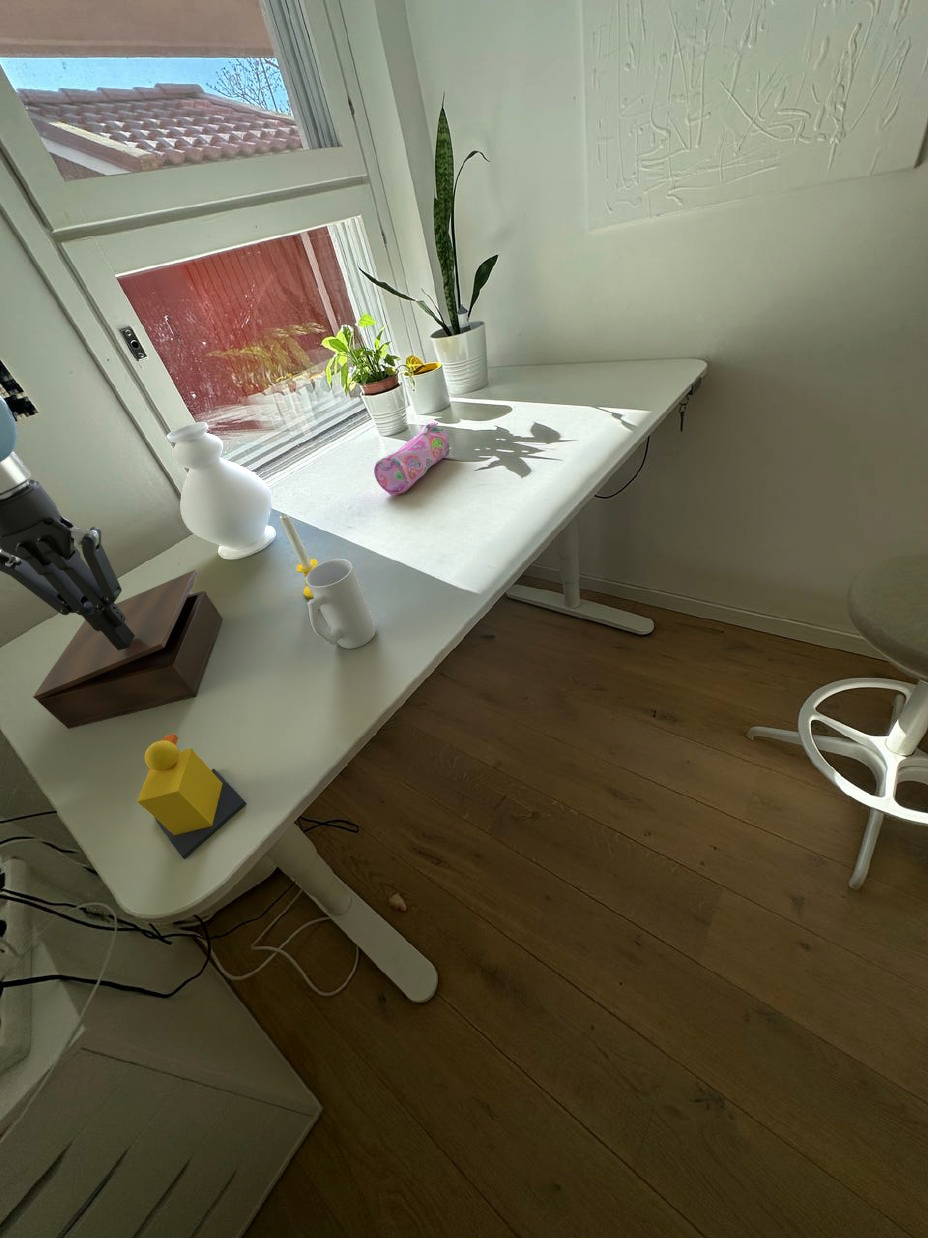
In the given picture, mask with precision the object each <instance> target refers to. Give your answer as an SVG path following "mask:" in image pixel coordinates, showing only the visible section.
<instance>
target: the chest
mask: <svg viewBox="0 0 928 1238" xmlns="http://www.w3.org/2000/svg"><path fill="white" fill-rule="evenodd" d="M223 620H224V619H223V616H222V615H221V614H220V612H219V611H218V609H217V607H216V606H215V604H214V603H213V601H212V600H211V598H210V597H209V595H208V593H207V592H206V590H201V591H197V592H193V593H189V594H188V597H187V599H186V601H185V603H184V605H183V607H182V610H181V612H180V614H179V616H178V618H177V621H176V623H175V625H174V627H173V629H172V632H171V634H170V636H169V638H168V640H167V642H166V645H165V647H164V648H162V649H160V650H157V651H155V652H153V653H150V654H148V655H145V656H143V657H141V658H138V659H136V660H133V661H131V662H129V663H126V664H124V665H121V666H119V667H116V668H114V669H112V670H109V671H107V672H104V673H102V674H100V675H97V676H95V677H92V678H90V679H88V680H85V681H83V682H80V683H78V684H75V685H73V686H71V687H68V688H66V689H63V690H61V691H59V692H56V693H54V694H51V695H49V696H47V697H44V698H42V699H39V700H37V702H38V703H39V704H40V705H41V706H42V707H43V708H44V709H46V711H48V712H49V714H51V715H52V716H53V717H54V718H55V719H56V720H58V721H59V722H60V723H61V724H62V725H63V726H64V727H65V728H66V729H72V728H77V727H81V726H84V725H89V724H93V723H97V722H100V721H104V720H107V719H113V718H116V717H119V716H124V715H128V714H131V713H137V712H139V711H143V710H147V709H151V708H155V707H159V706H163V705H166V704H170V703H174V702H178V701H182V700H187V699H190V698H194V697H195V698H196V697H197V695H198V692H199V689H200V686H201V683H202V681H203V677H204V675H205V672H206V669H207V666H208V664H209V661H210V658H211V655H212V652H213V649H214V646H215V644H216V640H217V637H218V635H219V632H220V629H221V626H222V623H223Z"/></svg>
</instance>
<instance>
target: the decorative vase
mask: <svg viewBox="0 0 928 1238" xmlns="http://www.w3.org/2000/svg"><path fill="white" fill-rule="evenodd" d="M208 429H209V424H208V423H207V422H206V421H198V422H193V423H189V424H186V425H183V426H181V427H177V428H176V429H173V430H172V431H169V433H168V434H167V435H166V439H167V441H168V442H170V443H175V444H174V447H173V449H172V451H171V458H172V460H173V462H174V463H175V464H176V465H178V466H179V467H182V468H185V469H188V471H187V475H186V477H185V479H184V482H183V485H182V489H181V495H180V503H179V504H180V505H179V507H180V509H179V512H180V516H181V518H182V521H183V523H184V525H185V526H186V527H187V530H189V531H190V532H191V533H192V534H193V535H196V536H197V537H198V538H200V539H203V540H204V541H208V542H211V543H213V544H215V545H219V547H218V548H217V552H218V553H217V554H218V555H219V557H221V558H222V559H225V560H240V559H243V558H247V557H250V556H252V555H255V554H257V553H259V552H260V551H262V550H264V549H266V548H267V547H269V545H271V544H272V543H273V541H274V540H275V539H276V536H277V531H276V530H275V527H273V526H272V525H268V523H269V520H270V516H271V514H272V513H271V512H272V508H273V496H272V493H271V490H270V488H269V487H268V485H267V483H266V482H265V481H264V480H263V479H262V478H261V477H259V476H258V475H257V474H256V473H254V472H253V471H251V470H249V469H247V468H246V467H244V466H242V465H240V464H237V463H235V462H232V461H230V460H228V459H225V458H223V457H221V456H222V454H223V451H224V443H223V441H222V440H221V438H219V437H218V436H217V435H215V434H211V433H208V432H207V431H208Z"/></svg>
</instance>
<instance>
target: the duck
mask: <svg viewBox="0 0 928 1238" xmlns="http://www.w3.org/2000/svg"><path fill="white" fill-rule="evenodd" d="M178 740H179V737H178V736H177V735H176V734H175V733H172V734H169V735H164V736H162V739H161V740H158V741H155V742H153V743H151V745H149V746H148V747H147V749H146V751H145V752H144V762H145V765H146V766H147V767H148V768H149V769H148V772H147V775H146V778H145V780H144V782H143V785H142V788H141V790H140V792H139V795H138V798H137V801H136V802H137V803H138V804H139V805H140V806H141V807H142V808H143V809H145V810H146V811H147V812H148V813H149V814H150V815H151V816H153V818H154V817H155V818H156V819H157V820H158V821H159V822H160V823H162V824H163V825H164V826H165V827H166V828H167V829H168V830H169V831H170V832H172V833H173V834H174V835H178V834H182V833H186V832H190V831H194V830H198V829H202V828H206V827H210V826H212V824H213V820H214V816H215V812H216V808H217V804H218V800H219V796H220V792H221V788H222V782H221V781H220V780H219V779H218V778H217V777H216V776H215V774H214V773H213V772H212V771H211V770H212V769H211V768H209V766H208V765H207V764H206V763H205V762H204V761H203V759H202V758H201V757H200V755H198V754H197V753H196V752H195V751H194V749H192V748H191V747H190V748H187V749H183V750H179V749H178V746H177V742H178Z"/></svg>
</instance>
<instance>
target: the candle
mask: <svg viewBox="0 0 928 1238" xmlns="http://www.w3.org/2000/svg"><path fill="white" fill-rule="evenodd" d="M281 514H282V515H280V516H278V517H279V520H280V522H281V524H282V527H283V529H284V532H285V533H286V535H287V538H288V540H289V542H290V545H291V546H292V549H293V550H294V553H295V554H296V556H297V559H298V561H299V564H297V565H296V566H295V570H296V572H297V573H303V576H304V577H305V580H304V584H305V585H306V586H305V588H304V589H303V591H302V592H303V595H304V597H305V598H306V599H310V600H311V599H314V597H313V595H312V593H311V591H310V589H309V587H308V585H307V583H306V577H307V575H308V573H309V572H310V571H311V570H312V569H313V568H315V567H316V566H318V565H319V560H317V559H316V558H310V557H309V554H308V552H307V550H306V548H305V546H304V544H303V542H302V540H301V537H300V535H299V534H298V531H297V529H296V527H295V525H294V523H293V520H292V519H291V518H290V515H288V514H284V513H281Z"/></svg>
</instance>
